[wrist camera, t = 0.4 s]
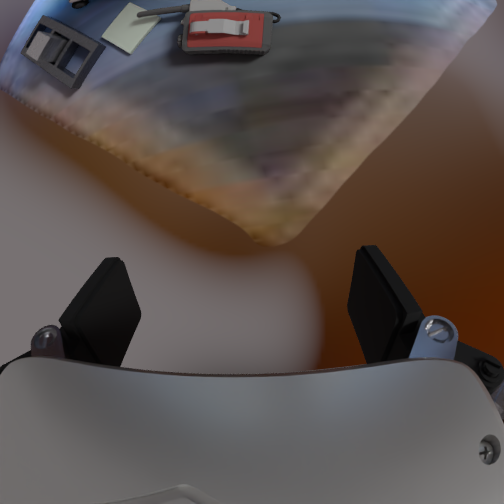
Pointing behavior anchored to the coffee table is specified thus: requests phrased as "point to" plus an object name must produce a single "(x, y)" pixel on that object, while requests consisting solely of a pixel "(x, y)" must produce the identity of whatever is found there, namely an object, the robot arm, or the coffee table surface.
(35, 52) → the steel block
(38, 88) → the coffee table surface
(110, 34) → the sage mat
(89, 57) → the grey flat frame
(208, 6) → the walkie-talkie
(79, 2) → the toy car
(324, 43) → the coffee table surface
